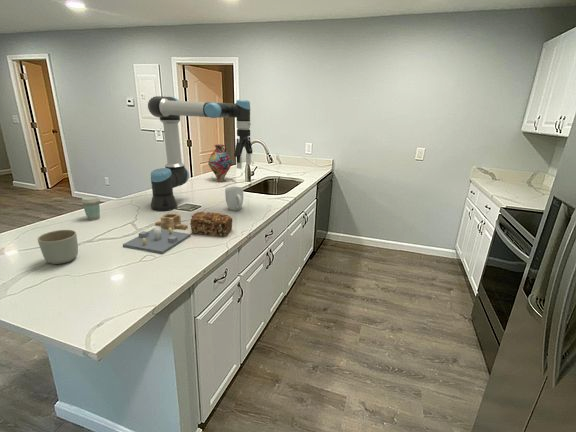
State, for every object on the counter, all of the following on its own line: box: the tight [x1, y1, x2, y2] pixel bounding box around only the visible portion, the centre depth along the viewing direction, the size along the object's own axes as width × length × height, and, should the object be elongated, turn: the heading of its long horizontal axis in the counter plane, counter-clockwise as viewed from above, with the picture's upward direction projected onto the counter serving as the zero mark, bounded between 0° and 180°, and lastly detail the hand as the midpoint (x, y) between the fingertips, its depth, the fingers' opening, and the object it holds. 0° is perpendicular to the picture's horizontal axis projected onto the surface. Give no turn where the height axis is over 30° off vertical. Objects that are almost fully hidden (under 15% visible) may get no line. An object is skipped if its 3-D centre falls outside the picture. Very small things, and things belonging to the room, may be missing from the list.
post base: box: [122, 227, 191, 255], centre depth 147 cm, size 21×21×6 cm
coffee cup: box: [81, 195, 101, 221], centre depth 172 cm, size 8×8×12 cm
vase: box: [207, 144, 233, 183], centre depth 262 cm, size 19×19×30 cm
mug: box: [224, 186, 244, 211], centre depth 194 cm, size 15×11×13 cm
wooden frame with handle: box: [154, 212, 188, 231], centre depth 165 cm, size 18×7×6 cm, turn 73°
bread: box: [189, 211, 233, 237], centre depth 160 cm, size 19×11×10 cm, turn 80°
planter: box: [37, 229, 79, 265], centre depth 126 cm, size 12×12×11 cm
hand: (244, 166), depth 185 cm, fingers open, 13 cm apart
